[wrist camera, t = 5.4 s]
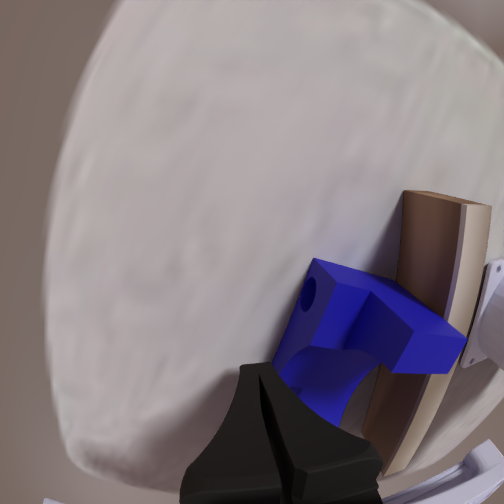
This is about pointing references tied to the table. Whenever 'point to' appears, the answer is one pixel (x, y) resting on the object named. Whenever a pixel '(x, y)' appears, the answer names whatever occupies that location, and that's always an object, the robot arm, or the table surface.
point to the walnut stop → (436, 298)
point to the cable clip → (358, 336)
